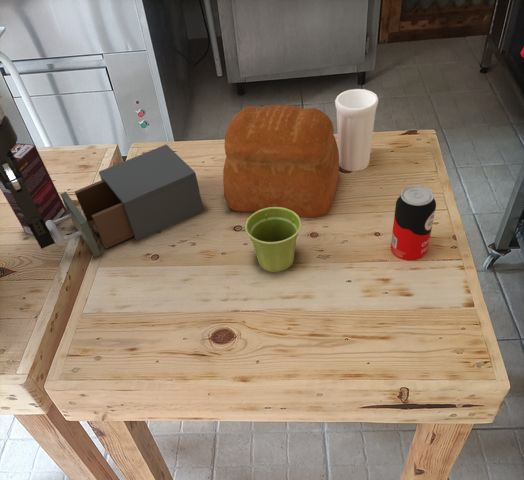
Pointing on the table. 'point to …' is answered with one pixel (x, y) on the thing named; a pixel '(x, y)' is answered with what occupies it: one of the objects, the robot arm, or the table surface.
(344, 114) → the cup
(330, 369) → the table surface
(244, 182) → the bread
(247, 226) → the plant pot
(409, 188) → the beverage can
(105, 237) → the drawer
